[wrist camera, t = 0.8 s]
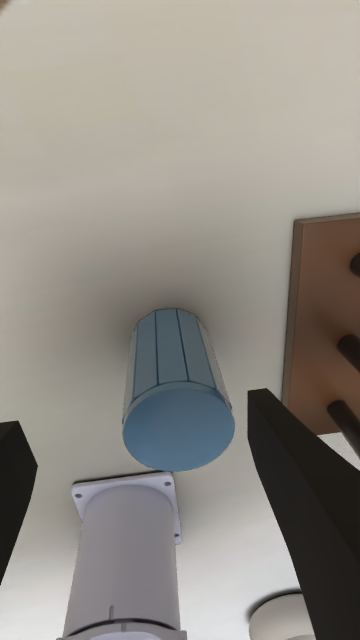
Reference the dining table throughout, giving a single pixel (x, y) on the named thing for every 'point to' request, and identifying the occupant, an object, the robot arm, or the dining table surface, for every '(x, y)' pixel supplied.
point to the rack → (325, 327)
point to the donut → (282, 620)
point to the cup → (174, 394)
